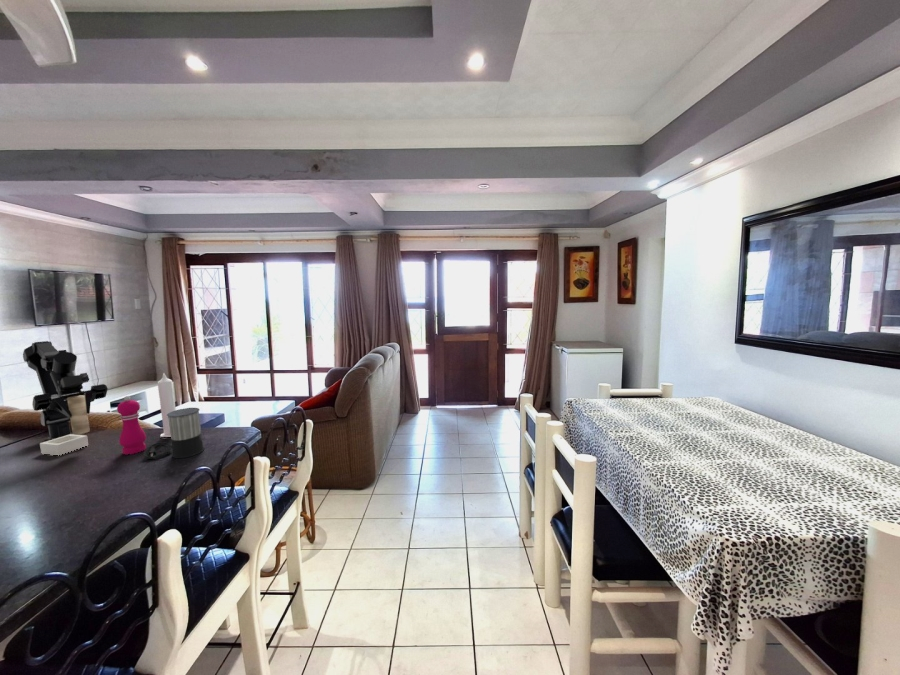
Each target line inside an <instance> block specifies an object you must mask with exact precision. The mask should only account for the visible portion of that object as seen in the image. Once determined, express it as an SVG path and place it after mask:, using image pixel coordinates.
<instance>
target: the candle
mask: <svg viewBox="0 0 900 675" xmlns="http://www.w3.org/2000/svg"><path fill="white" fill-rule="evenodd" d="M173 385H174V384H173V380H172V379H170V378H168V376H167V375H166V373H165V372H163V373H162V377H161V379H160V380H158V381H157V390H158V397H159V405H160V411H161V412H160V413H161V419H162V428H163V433H161V434H160V436H159V437H160V438H161V437H171V434H170V426H169V419H168V416H167V414H168V413H170V412H172V411H175V410H177V408H176V402H175V401H176V400H175V392H174V386H173Z"/></svg>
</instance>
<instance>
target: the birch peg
mask: <svg viewBox="0 0 900 675" xmlns="http://www.w3.org/2000/svg"><path fill="white" fill-rule="evenodd" d="M67 401H68V407H69V411H70V413H71V418H70V420H71V421H70V428H71V431H72V432H71V433H73V435H84V434H85V433H86V434H87V433H88V432H91V429H90V423H89V422H90V421H89V414H88V413H87V408H86V401H85V395H79V396H73V397H69V398H67Z"/></svg>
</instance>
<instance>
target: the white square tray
mask: <svg viewBox="0 0 900 675" xmlns="http://www.w3.org/2000/svg"><path fill="white" fill-rule="evenodd" d="M88 445H89V440H88V435H84V434H77V435H73V434H69V435H66V436H63V437H59V438H56V439H53V440H46V441H43V442H40V443H39V447H40V452H41V453H42V454H41V455H44V454H50V455H49V456H53V455H58V456H57V457H60V456H62V454H63V455H66V454H68V452H69V453H72V452H75V451H77V450H76V449H78V450H80V448H81V449H83V448H82V447H84V448H86V447H85V446H87V447H89V446H88ZM74 450H75V451H74ZM71 451H72V452H71ZM65 453H66V454H65ZM59 455H60V456H59Z"/></svg>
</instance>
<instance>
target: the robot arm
mask: <svg viewBox="0 0 900 675" xmlns="http://www.w3.org/2000/svg"><path fill="white" fill-rule="evenodd" d="M22 358H23V361H24V363H26V364H27V367H28V368H29V369H31V370H33V371H34V372H36V376H37V378H38V382H39V385H40V387H41V391H42V393H41V394H36V395H34V396H33V398H32V408H33V411H35V412H38V411H41V412H40V424H41V425H42V426H43V427H47V428H48V433H49V436H48V437H45V438H44V440H46V441H49V440H53V439H56V438H59V437H63V436H66V435H69V434H73V433H72V432H71V425H70V422H71V420H70V418H71V413H70V411H69V407H68V401H67V398H69V397H73V396H79V395H85V401H86V408H87V415H89V414H90V412H91V403H92V402H94V401H95V400H100V399H104V398H106V396H107V395H108V394H107V393H108V390H109V388H108V386H107V385H106V384H105V383H100V384H96V385H95V384H94V385H91V386H90V389H89V390H83V389H84V386H83V385H84V383H85V384H86V383H88V382H89V381H90V378H89V374H88V372H82V373H80V374H75V373H74V371H75V370H76V364H77V359H78V356H77V355H76V354H75V353H73V352H70V351H67V350H66V349H62V350H61V349H60V350H58V349H57V348H55V347H54V345H53V344H52V341H48V340H45V341H34V342H32V343H31V345H29V346H28V347H26V348H24V349H23V353H22Z"/></svg>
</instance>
